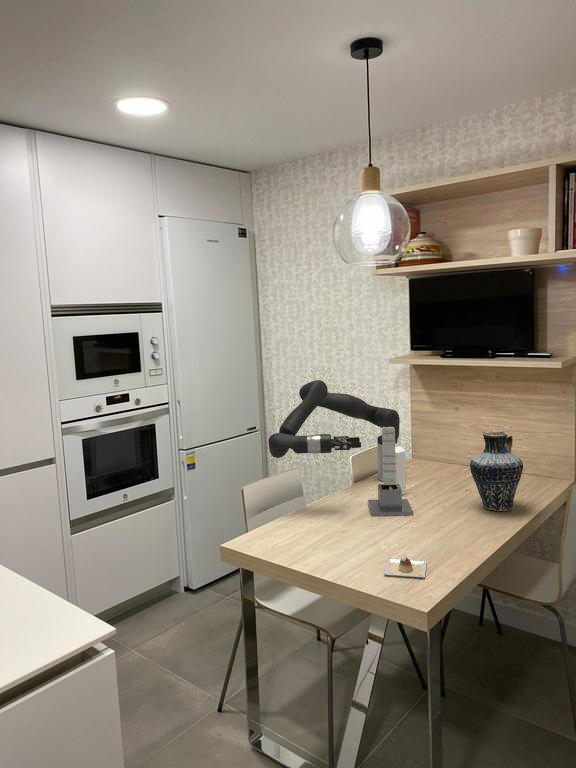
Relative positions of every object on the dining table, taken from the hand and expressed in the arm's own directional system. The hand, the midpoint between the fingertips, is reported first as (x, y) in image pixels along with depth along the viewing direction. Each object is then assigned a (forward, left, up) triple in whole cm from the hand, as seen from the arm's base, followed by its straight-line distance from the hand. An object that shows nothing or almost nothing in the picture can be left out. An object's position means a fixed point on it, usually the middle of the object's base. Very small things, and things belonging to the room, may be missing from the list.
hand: (360, 442), depth 240 cm
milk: (-19, +16, -27) cm, 37 cm away
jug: (+2, +52, -27) cm, 59 cm away
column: (+1, +11, -16) cm, 20 cm away
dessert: (+58, +9, -28) cm, 65 cm away
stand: (+1, +11, -27) cm, 29 cm away
